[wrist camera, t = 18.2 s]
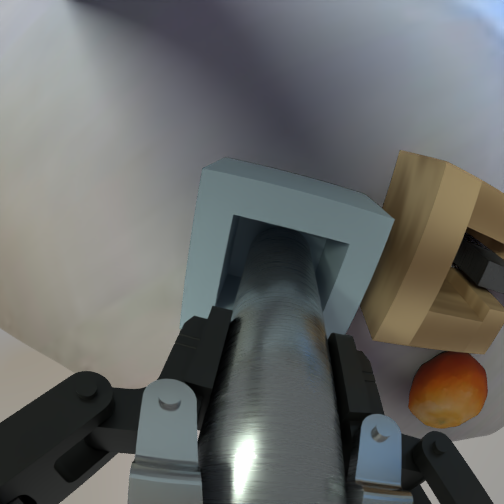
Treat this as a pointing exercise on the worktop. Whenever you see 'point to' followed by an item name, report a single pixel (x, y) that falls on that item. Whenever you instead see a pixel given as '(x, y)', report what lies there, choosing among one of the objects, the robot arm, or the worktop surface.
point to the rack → (286, 215)
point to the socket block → (435, 259)
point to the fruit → (448, 390)
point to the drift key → (481, 265)
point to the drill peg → (274, 388)
